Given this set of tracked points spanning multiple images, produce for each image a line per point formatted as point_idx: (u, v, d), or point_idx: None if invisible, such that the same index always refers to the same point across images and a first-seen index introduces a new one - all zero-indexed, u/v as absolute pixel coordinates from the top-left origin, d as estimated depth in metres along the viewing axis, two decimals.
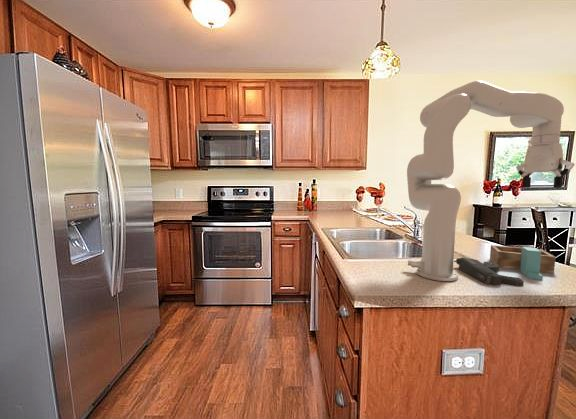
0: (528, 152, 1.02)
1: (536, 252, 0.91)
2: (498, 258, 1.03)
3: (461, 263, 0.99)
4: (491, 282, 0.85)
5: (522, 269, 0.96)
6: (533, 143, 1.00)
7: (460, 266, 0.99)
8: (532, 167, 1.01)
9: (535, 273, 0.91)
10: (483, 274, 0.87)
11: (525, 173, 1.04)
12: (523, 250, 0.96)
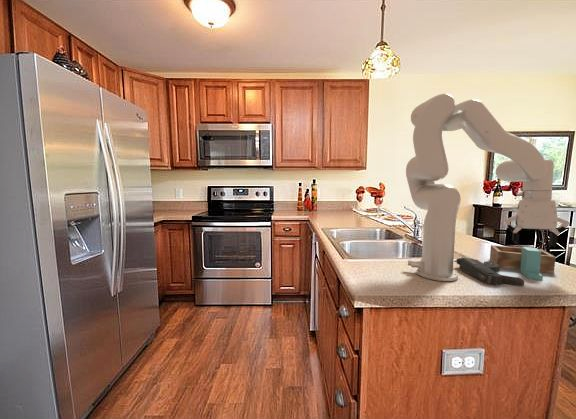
0: (525, 207, 0.92)
1: (536, 252, 0.91)
2: (498, 258, 1.03)
3: (461, 263, 0.99)
4: (492, 282, 0.85)
5: (522, 269, 0.96)
6: (533, 198, 0.91)
7: (460, 266, 0.99)
8: (531, 224, 0.92)
9: (535, 273, 0.91)
10: (484, 274, 0.87)
11: (518, 229, 0.95)
12: (523, 250, 0.96)
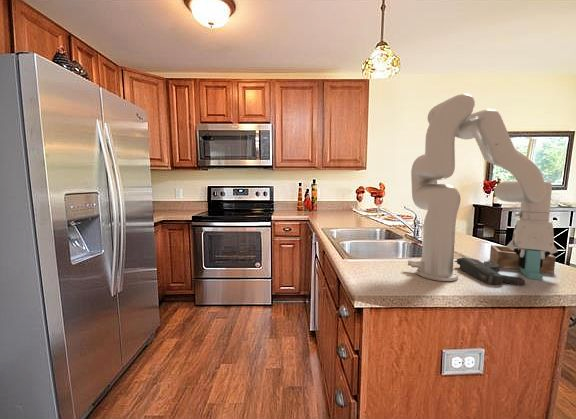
0: (522, 227, 0.93)
1: (536, 252, 0.91)
2: (498, 258, 1.03)
3: (462, 263, 0.99)
4: (493, 282, 0.85)
5: (522, 269, 0.96)
6: (530, 219, 0.91)
7: (461, 266, 0.99)
8: (528, 244, 0.92)
9: (535, 273, 0.91)
10: (485, 274, 0.87)
11: (524, 253, 0.94)
12: None
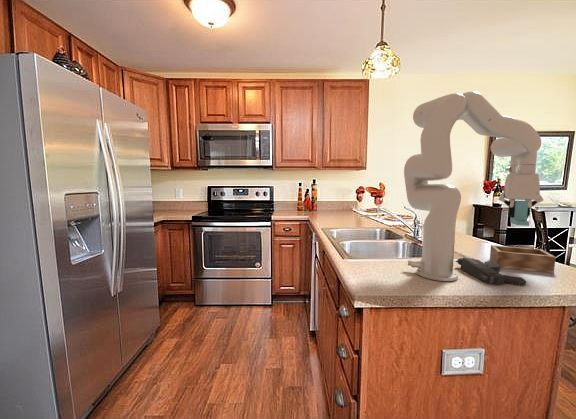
0: (511, 180, 1.03)
1: (524, 202, 1.02)
2: (498, 258, 1.03)
3: (463, 263, 0.99)
4: (494, 282, 0.85)
5: (512, 220, 1.07)
6: (519, 171, 1.01)
7: (462, 266, 0.99)
8: (517, 195, 1.02)
9: (523, 221, 1.01)
10: (486, 274, 0.87)
11: None
12: None
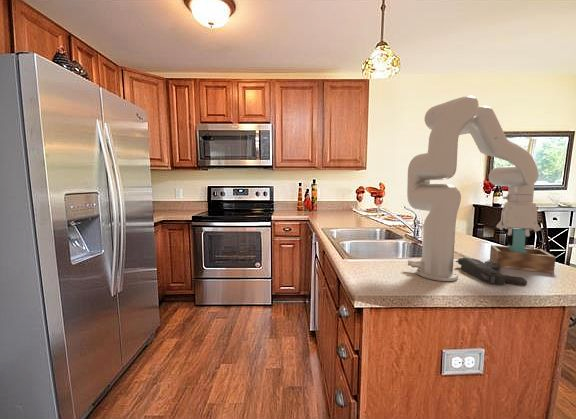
0: (509, 208, 1.04)
1: (521, 231, 1.03)
2: (498, 258, 1.03)
3: (463, 263, 0.99)
4: (495, 282, 0.85)
5: (510, 248, 1.08)
6: (516, 201, 1.02)
7: (462, 266, 0.99)
8: (514, 224, 1.04)
9: (521, 250, 1.02)
10: (487, 274, 0.87)
11: None
12: None
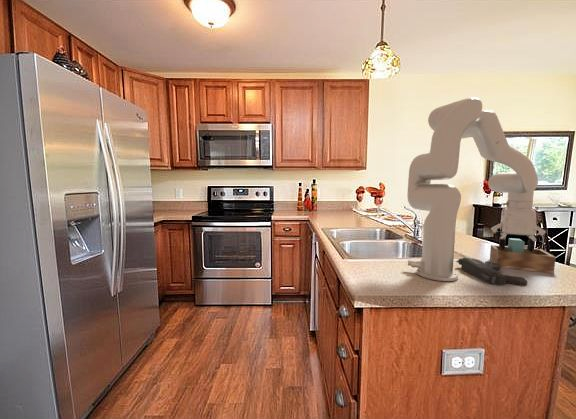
0: (509, 215, 1.04)
1: (520, 242, 1.03)
2: (498, 258, 1.03)
3: (464, 263, 0.99)
4: (496, 282, 0.85)
5: None
6: (516, 207, 1.02)
7: (463, 266, 0.99)
8: (514, 230, 1.04)
9: None
10: (488, 274, 0.87)
11: (504, 235, 1.06)
12: (509, 241, 1.08)
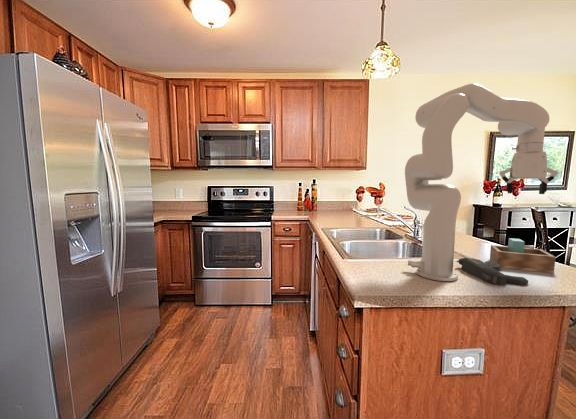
0: (519, 158, 1.02)
1: (520, 242, 1.03)
2: (498, 258, 1.03)
3: (464, 263, 0.98)
4: (497, 282, 0.85)
5: None
6: (526, 149, 1.01)
7: (463, 266, 0.99)
8: (524, 173, 1.02)
9: None
10: (489, 274, 0.86)
11: (512, 179, 1.05)
12: (509, 241, 1.08)
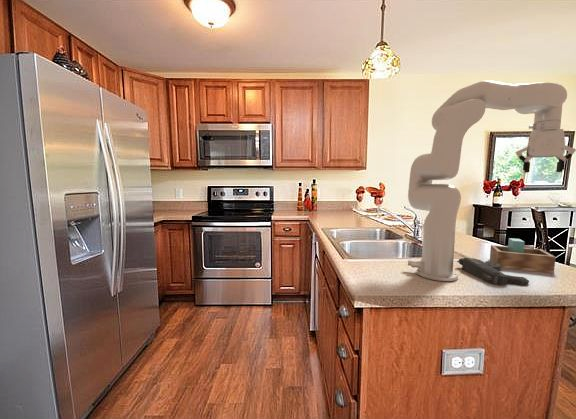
0: (536, 136, 1.03)
1: (520, 242, 1.03)
2: (498, 258, 1.03)
3: (465, 263, 0.98)
4: (498, 282, 0.85)
5: None
6: (543, 127, 1.01)
7: (464, 266, 0.99)
8: (541, 151, 1.02)
9: None
10: (490, 274, 0.86)
11: (529, 158, 1.05)
12: (509, 241, 1.08)
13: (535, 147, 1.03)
